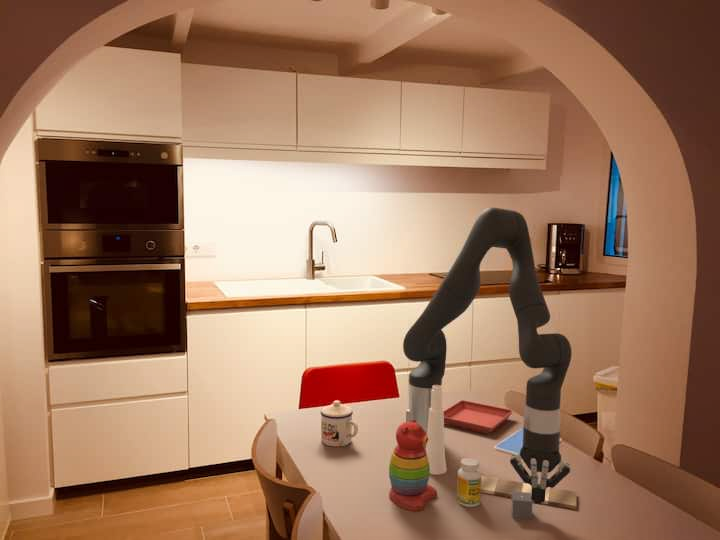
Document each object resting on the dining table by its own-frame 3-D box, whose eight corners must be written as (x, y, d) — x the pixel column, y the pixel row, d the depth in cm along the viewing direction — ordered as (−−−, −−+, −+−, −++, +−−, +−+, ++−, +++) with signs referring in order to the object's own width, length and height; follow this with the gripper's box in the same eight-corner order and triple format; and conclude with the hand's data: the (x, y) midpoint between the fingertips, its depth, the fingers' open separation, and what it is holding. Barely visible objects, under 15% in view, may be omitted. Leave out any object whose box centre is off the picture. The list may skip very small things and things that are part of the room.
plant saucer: (436, 424, 181) (436, 414, 181) (461, 408, 196) (461, 399, 196) (491, 438, 171) (492, 427, 171) (513, 420, 186) (514, 410, 186)
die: (512, 517, 127) (512, 499, 127) (510, 508, 131) (511, 490, 131) (531, 519, 126) (532, 501, 126) (529, 509, 130) (530, 492, 130)
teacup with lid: (313, 441, 166) (314, 402, 165) (334, 432, 174) (334, 394, 172) (346, 453, 159) (347, 411, 158) (366, 442, 166) (367, 402, 165)
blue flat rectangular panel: (521, 430, 178) (521, 426, 178) (562, 441, 170) (563, 437, 170) (492, 451, 163) (493, 446, 163) (536, 464, 155) (536, 459, 155)
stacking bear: (419, 513, 128) (421, 435, 126) (379, 501, 134) (380, 425, 132) (439, 493, 137) (441, 420, 135) (401, 482, 143) (403, 411, 141)
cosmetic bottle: (427, 462, 154) (429, 381, 151) (449, 467, 151) (452, 384, 149) (419, 472, 148) (421, 387, 146) (442, 477, 146) (444, 391, 143)
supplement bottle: (469, 493, 137) (470, 454, 136) (485, 503, 133) (487, 463, 132) (451, 499, 134) (453, 459, 133) (468, 510, 130) (469, 468, 129)
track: (468, 489, 139) (468, 486, 139) (473, 477, 146) (473, 474, 146) (576, 509, 131) (576, 506, 131) (576, 495, 137) (576, 491, 137)
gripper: (508, 427, 124) (505, 505, 126) (574, 436, 120) (570, 517, 122) (511, 415, 131) (508, 489, 133) (574, 424, 127) (570, 500, 129)
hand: (538, 502), depth 127 cm, fingers closed
